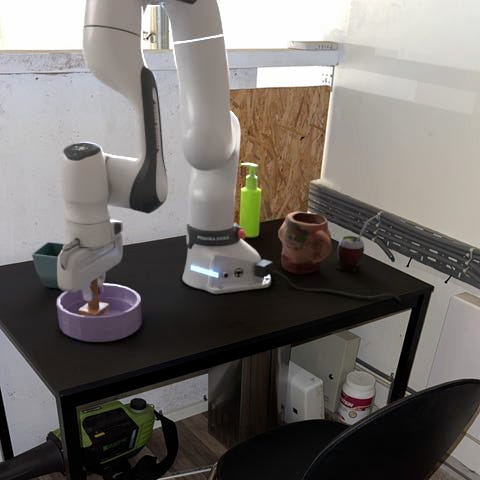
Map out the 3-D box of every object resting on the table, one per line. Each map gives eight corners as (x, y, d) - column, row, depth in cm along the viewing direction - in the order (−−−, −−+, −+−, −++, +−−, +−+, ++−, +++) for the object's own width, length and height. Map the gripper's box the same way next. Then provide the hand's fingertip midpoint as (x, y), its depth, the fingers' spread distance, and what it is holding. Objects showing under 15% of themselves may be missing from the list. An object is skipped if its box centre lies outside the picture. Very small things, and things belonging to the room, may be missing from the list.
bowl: (138, 306, 148) (137, 282, 145) (144, 341, 134) (143, 315, 131) (61, 310, 145) (57, 285, 142) (59, 346, 131) (55, 319, 128)
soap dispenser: (243, 228, 197) (246, 160, 186) (262, 233, 194) (266, 164, 182) (232, 233, 193) (235, 163, 182) (251, 238, 190) (255, 168, 178)
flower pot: (70, 294, 152) (66, 258, 147) (36, 290, 153) (30, 253, 148) (85, 280, 159) (81, 245, 154) (52, 276, 160) (47, 241, 155)
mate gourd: (329, 265, 175) (336, 210, 166) (352, 261, 178) (360, 206, 169) (346, 275, 170) (354, 218, 161) (369, 270, 173) (379, 214, 164)
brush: (92, 311, 142) (89, 269, 136) (110, 315, 141) (107, 273, 135) (78, 321, 137) (74, 278, 132) (97, 325, 136) (93, 282, 131)
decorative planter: (346, 278, 168) (353, 225, 160) (311, 287, 162) (317, 232, 154) (297, 254, 181) (302, 204, 173) (263, 262, 175) (266, 210, 167)
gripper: (74, 250, 119) (80, 318, 127) (126, 220, 135) (129, 282, 143) (45, 245, 121) (53, 312, 129) (100, 215, 137) (104, 277, 145)
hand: (93, 296), depth 136 cm, fingers closed on brush, 2 cm apart
